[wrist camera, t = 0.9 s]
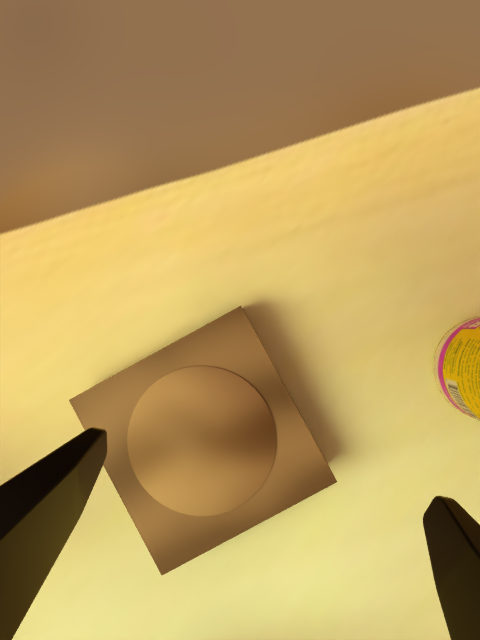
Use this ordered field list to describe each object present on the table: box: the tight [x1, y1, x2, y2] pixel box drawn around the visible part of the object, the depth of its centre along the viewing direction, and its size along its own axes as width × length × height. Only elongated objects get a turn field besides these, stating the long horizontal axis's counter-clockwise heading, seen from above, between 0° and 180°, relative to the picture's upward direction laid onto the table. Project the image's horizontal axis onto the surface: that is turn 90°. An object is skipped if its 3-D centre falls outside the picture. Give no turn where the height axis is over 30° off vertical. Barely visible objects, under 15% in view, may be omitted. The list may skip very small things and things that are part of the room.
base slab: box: [69, 306, 337, 575], centre depth 22 cm, size 12×12×3 cm
